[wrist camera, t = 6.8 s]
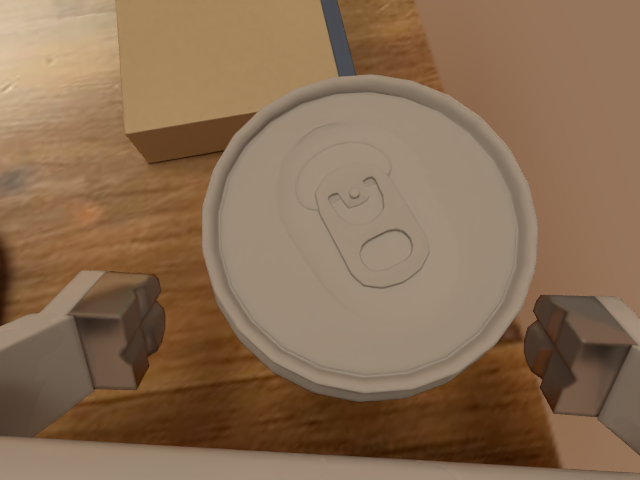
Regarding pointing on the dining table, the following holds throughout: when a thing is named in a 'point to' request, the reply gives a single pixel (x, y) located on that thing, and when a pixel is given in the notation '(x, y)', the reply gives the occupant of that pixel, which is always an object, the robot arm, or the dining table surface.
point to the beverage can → (368, 237)
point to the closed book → (218, 66)
